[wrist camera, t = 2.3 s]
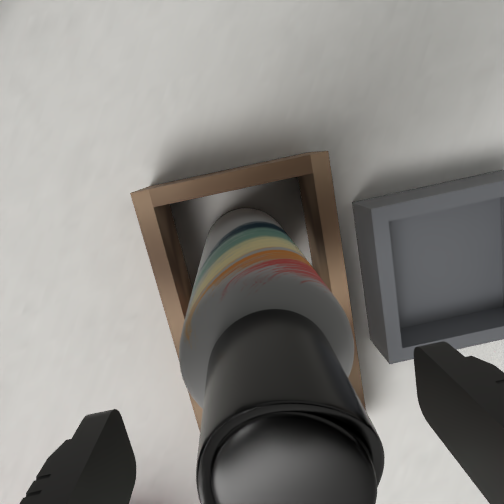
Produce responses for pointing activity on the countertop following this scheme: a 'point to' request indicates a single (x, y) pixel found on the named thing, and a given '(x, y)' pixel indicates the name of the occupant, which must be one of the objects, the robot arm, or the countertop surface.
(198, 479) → the lotion bottle
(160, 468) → the countertop surface
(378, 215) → the tray
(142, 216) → the frame
